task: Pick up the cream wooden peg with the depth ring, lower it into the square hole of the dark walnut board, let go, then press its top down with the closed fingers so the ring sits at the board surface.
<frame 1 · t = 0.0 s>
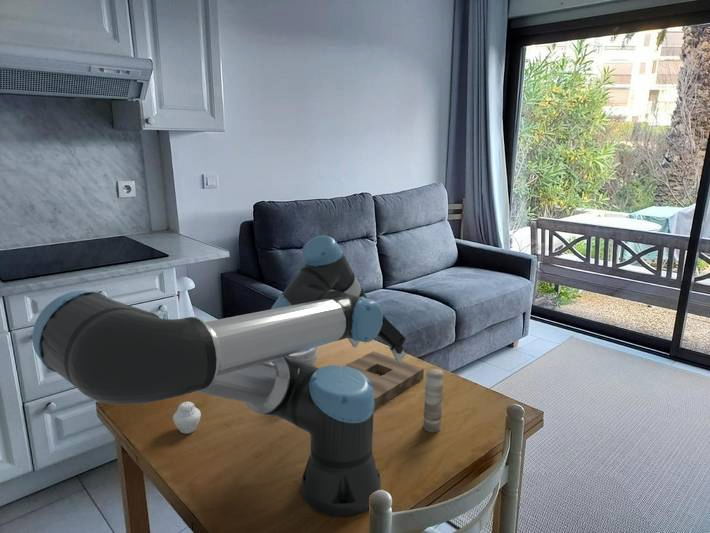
hand: (378, 350, 122), 15 cm above the table, tool tilted 35°, fingers open, 13 cm apart
peg: (431, 427, 117), on the table
board: (372, 383, 138), on the table
flask: (299, 402, 128), on the table
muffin: (188, 430, 115), on the table
paper bowls: (291, 370, 145), on the table
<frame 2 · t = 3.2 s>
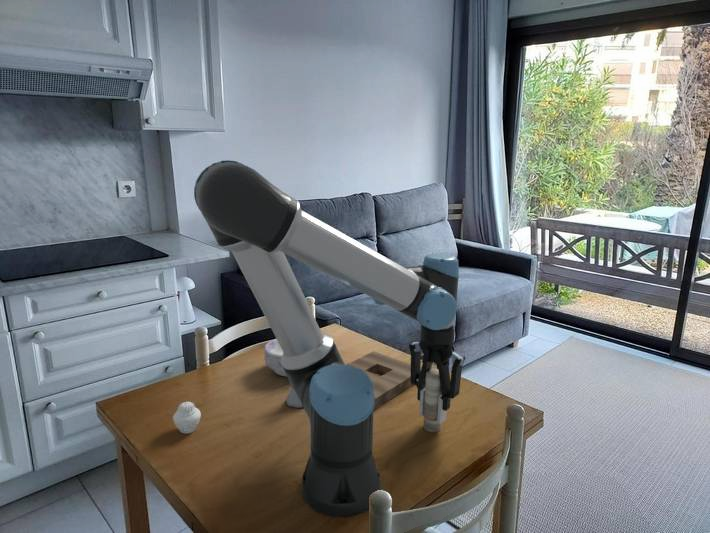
hand: (432, 417, 116), 3 cm above the table, tool pointing down, fingers closed on peg, 4 cm apart
peg: (431, 427, 117), on the table, touching gripper
everything else where it was.
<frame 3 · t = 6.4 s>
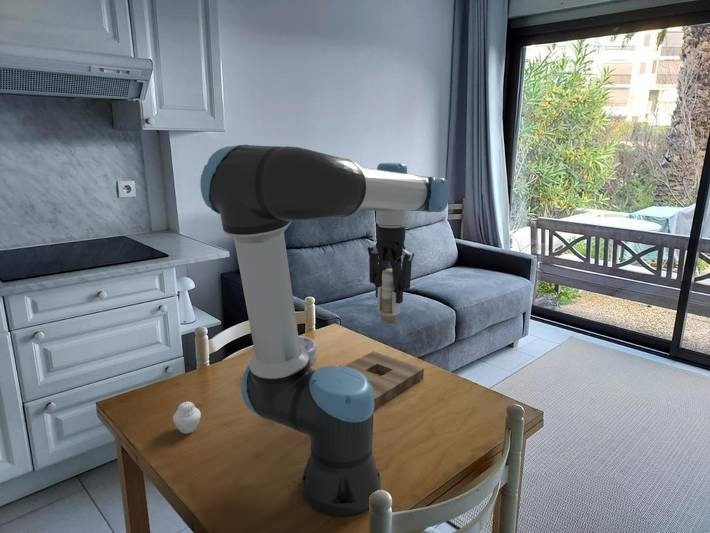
hand: (388, 311, 132), 21 cm above the table, tool pointing down, fingers closed on peg, 4 cm apart
peg: (388, 321, 133), point 19 cm above the table, touching gripper
everything else where it was.
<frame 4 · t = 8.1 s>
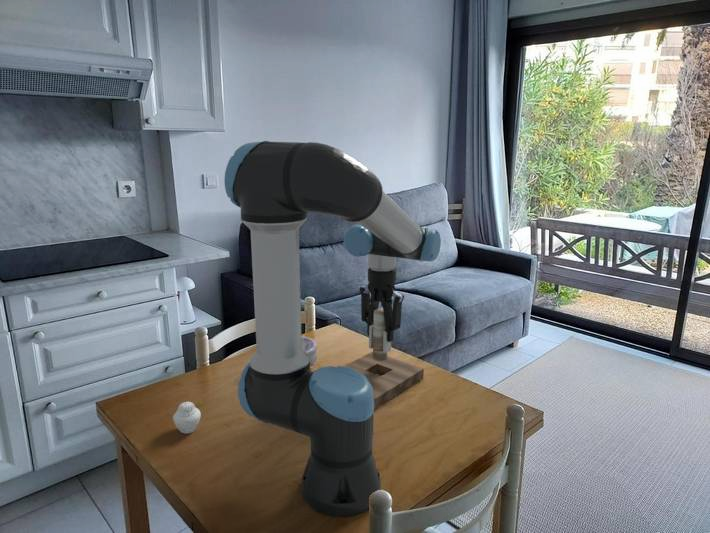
hand: (379, 349, 138), 9 cm above the table, tool pointing down, fingers closed on peg, 4 cm apart
peg: (379, 357, 139), point 7 cm above the table, touching gripper
everything else where it was.
when the fingers open (4 cm above the table, at t = 9.5 s): peg drops 1 cm, resting in board.
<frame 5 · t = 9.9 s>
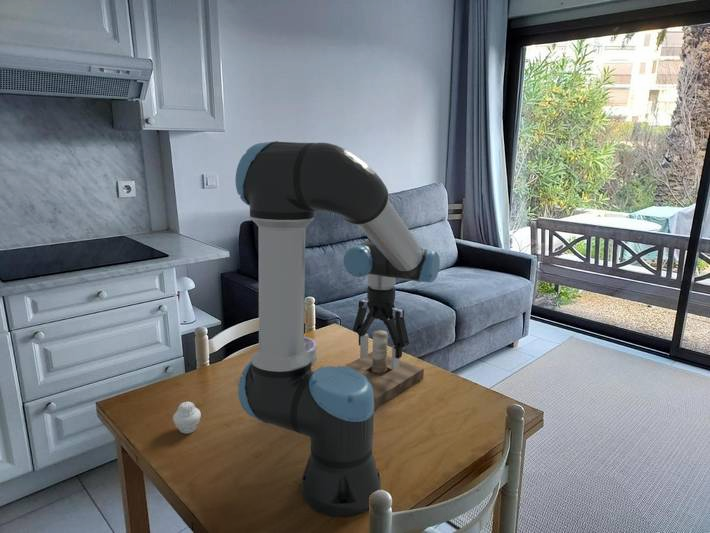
hand: (379, 362, 139), 5 cm above the table, tool pointing down, fingers open, 10 cm apart
peg: (379, 379, 140), resting in board
everything else where it was.
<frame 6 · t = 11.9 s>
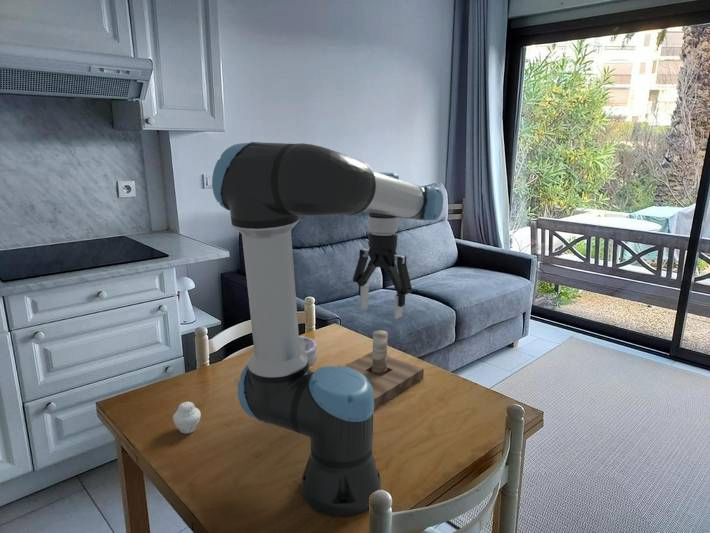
hand: (380, 312, 135), 20 cm above the table, tool pointing down, fingers open, 11 cm apart
nothing on the table moved.
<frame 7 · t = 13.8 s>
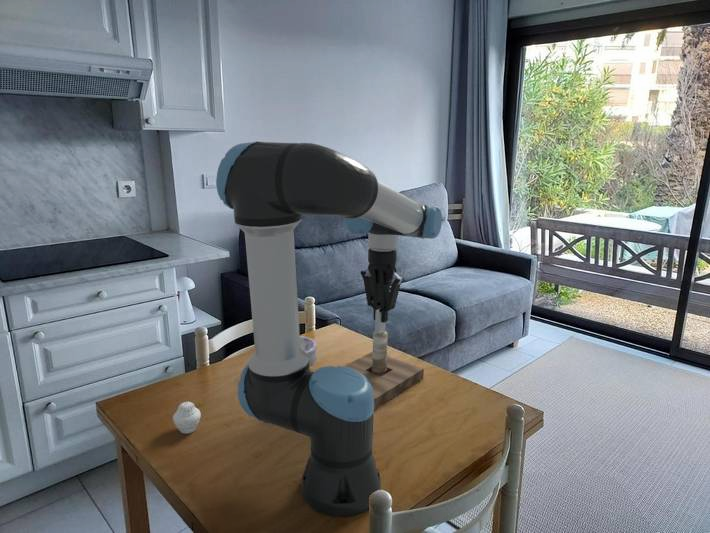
hand: (380, 332, 137), 14 cm above the table, tool pointing down, fingers closed
peg: (379, 379, 140), resting in board, touching gripper
everything else where it was.
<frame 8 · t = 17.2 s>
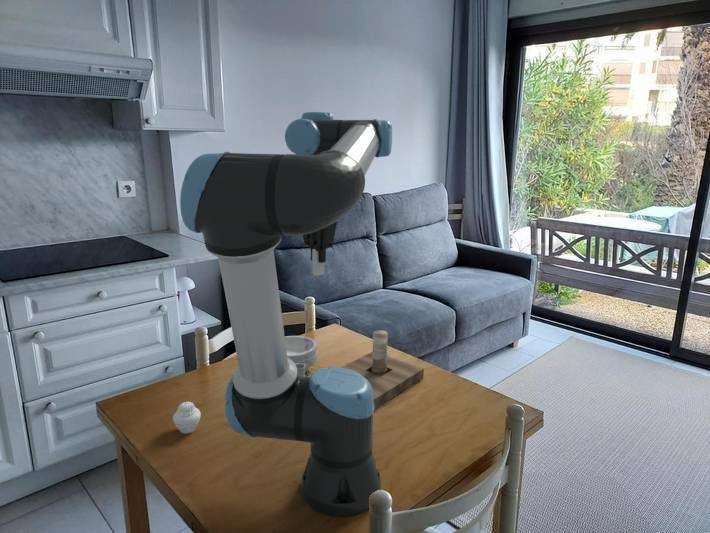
hand: (318, 274, 125), 32 cm above the table, tool pointing down, fingers closed
peg: (379, 379, 140), resting in board
everything else where it was.
at the end: peg 0.1 cm from the target spot on the board, point 0.0 cm above the board's base; peg tilted 0°; the gripper is holding nothing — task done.
